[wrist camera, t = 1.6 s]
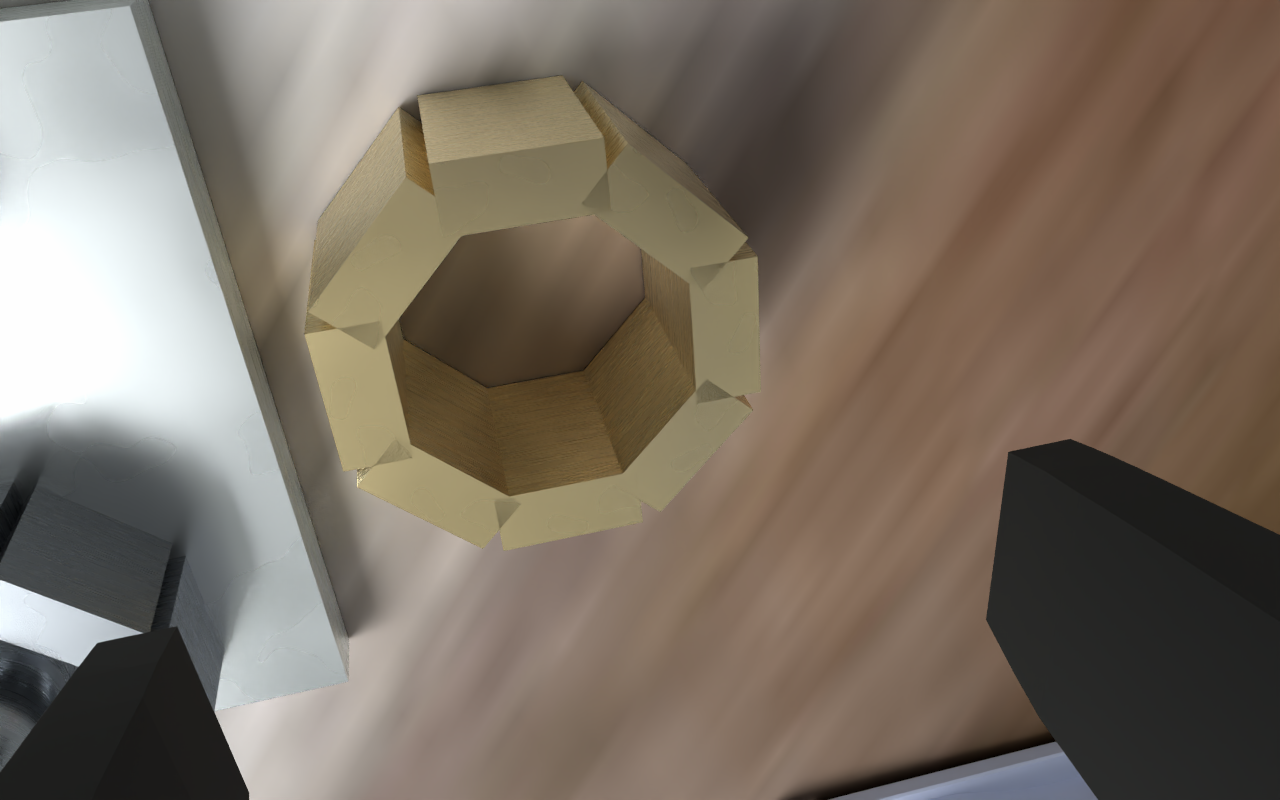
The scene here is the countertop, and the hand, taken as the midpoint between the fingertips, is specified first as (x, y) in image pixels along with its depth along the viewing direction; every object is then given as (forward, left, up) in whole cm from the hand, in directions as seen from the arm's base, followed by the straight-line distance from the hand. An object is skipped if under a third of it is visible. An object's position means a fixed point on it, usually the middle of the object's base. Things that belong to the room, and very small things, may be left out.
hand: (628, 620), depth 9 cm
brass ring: (0, 0, -8) cm, 8 cm away
